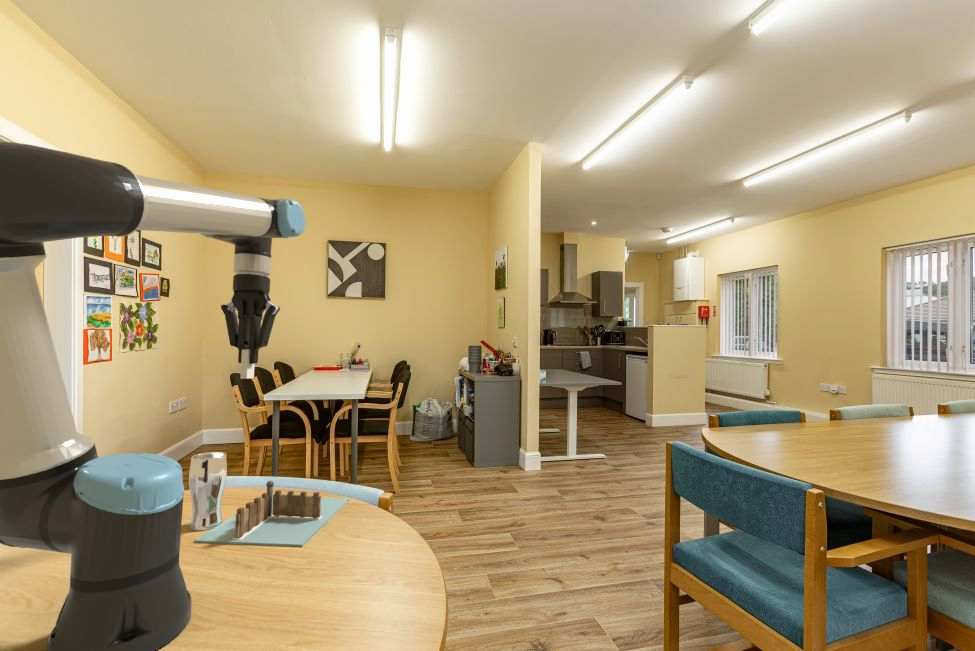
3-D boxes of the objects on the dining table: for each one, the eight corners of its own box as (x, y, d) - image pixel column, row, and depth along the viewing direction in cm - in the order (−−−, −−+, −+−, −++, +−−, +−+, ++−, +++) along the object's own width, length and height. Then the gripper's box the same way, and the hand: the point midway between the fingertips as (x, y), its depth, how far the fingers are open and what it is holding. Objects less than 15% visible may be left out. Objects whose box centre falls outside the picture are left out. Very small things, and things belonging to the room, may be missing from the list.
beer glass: (211, 532, 92) (214, 460, 93) (178, 531, 92) (182, 459, 93) (231, 519, 99) (234, 451, 100) (200, 518, 99) (204, 451, 100)
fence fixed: (240, 541, 88) (242, 499, 88) (232, 541, 88) (234, 499, 88) (274, 516, 101) (275, 479, 101) (267, 516, 101) (268, 479, 101)
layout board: (302, 546, 86) (302, 544, 86) (194, 542, 87) (194, 539, 87) (349, 500, 112) (349, 498, 112) (265, 497, 113) (265, 495, 113)
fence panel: (271, 515, 100) (272, 491, 100) (274, 514, 100) (275, 490, 101) (318, 517, 99) (319, 493, 99) (320, 516, 100) (321, 492, 100)
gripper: (288, 278, 104) (283, 377, 103) (235, 277, 105) (230, 376, 104) (270, 272, 97) (265, 380, 96) (214, 272, 98) (208, 378, 97)
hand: (247, 378), depth 100 cm, fingers closed
